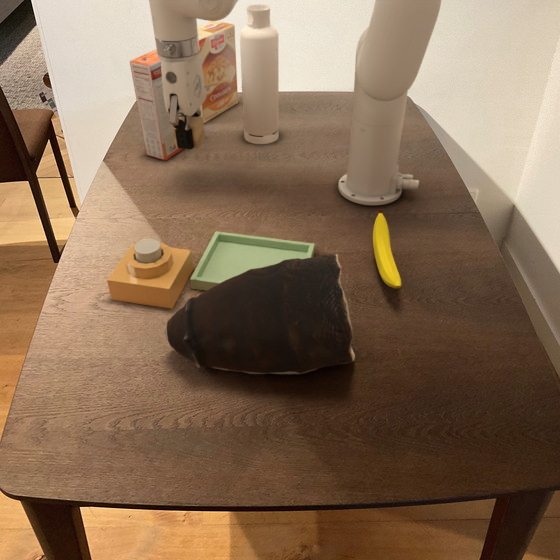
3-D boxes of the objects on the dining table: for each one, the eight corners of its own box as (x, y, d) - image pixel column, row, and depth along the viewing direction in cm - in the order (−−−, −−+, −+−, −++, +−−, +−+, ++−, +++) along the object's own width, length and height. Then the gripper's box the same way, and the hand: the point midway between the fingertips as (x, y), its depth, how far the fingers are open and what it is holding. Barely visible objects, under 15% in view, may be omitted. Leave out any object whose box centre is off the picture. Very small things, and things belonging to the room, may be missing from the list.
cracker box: (183, 131, 137) (173, 40, 123) (204, 137, 134) (195, 44, 121) (143, 155, 127) (127, 59, 114) (165, 162, 125) (151, 64, 112)
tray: (314, 252, 99) (314, 243, 98) (299, 304, 89) (299, 294, 88) (216, 240, 102) (215, 230, 101) (191, 288, 92) (189, 278, 91)
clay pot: (151, 260, 78) (333, 226, 76) (185, 328, 89) (345, 301, 87) (140, 348, 68) (350, 312, 66) (180, 413, 79) (361, 384, 77)
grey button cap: (165, 250, 91) (164, 239, 89) (156, 265, 88) (154, 255, 86) (142, 247, 91) (140, 236, 90) (131, 262, 88) (129, 251, 87)
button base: (193, 269, 96) (190, 239, 92) (172, 309, 88) (167, 278, 84) (137, 261, 98) (131, 232, 94) (111, 299, 90) (104, 269, 86)
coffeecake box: (204, 124, 140) (197, 40, 128) (181, 117, 143) (172, 35, 130) (239, 103, 150) (235, 23, 137) (217, 97, 153) (211, 19, 140)
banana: (384, 311, 88) (389, 278, 84) (368, 238, 102) (371, 208, 98) (403, 310, 88) (409, 278, 84) (384, 238, 103) (388, 208, 99)
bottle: (238, 132, 136) (232, 5, 118) (270, 126, 139) (268, 0, 121) (252, 146, 130) (247, 14, 113) (284, 140, 133) (285, 10, 115)
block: (205, 138, 115) (202, 117, 112) (197, 149, 111) (195, 127, 108) (183, 137, 115) (180, 115, 113) (175, 147, 112) (172, 125, 109)
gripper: (181, 63, 95) (194, 163, 106) (212, 32, 107) (221, 125, 119) (138, 61, 96) (156, 160, 107) (174, 31, 109) (186, 122, 120)
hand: (190, 141), depth 113 cm, fingers closed on block, 4 cm apart
